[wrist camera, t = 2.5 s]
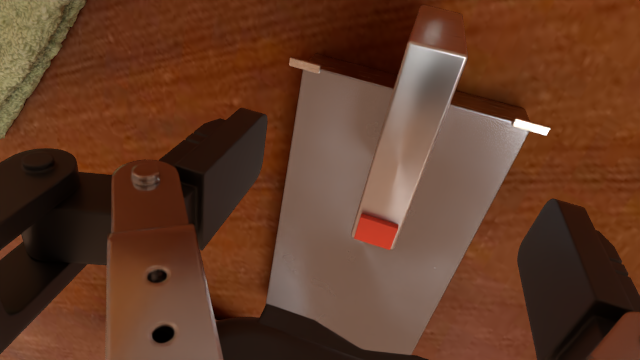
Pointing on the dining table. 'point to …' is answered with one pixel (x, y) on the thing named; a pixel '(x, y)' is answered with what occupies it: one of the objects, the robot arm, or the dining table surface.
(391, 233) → the spout
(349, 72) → the base
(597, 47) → the dining table surface
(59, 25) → the washcloth
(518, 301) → the dining table surface
